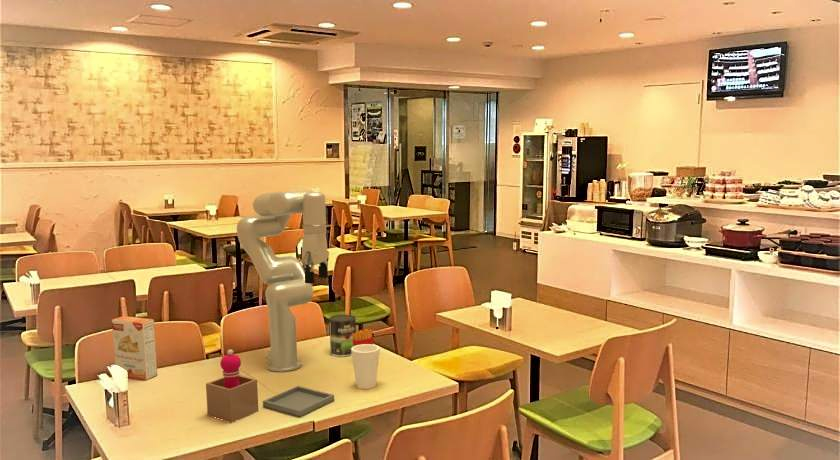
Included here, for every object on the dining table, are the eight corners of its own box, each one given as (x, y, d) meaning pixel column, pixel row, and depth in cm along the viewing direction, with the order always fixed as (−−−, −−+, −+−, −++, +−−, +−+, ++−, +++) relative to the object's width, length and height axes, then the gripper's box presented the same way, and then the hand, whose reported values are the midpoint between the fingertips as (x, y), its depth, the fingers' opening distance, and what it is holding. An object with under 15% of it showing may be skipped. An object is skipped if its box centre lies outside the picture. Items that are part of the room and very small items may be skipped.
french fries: (369, 357, 259) (369, 326, 258) (375, 360, 256) (374, 329, 255) (350, 362, 254) (350, 330, 252) (356, 364, 251) (355, 333, 249)
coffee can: (360, 354, 263) (359, 318, 261) (335, 358, 259) (334, 322, 257) (350, 347, 272) (349, 313, 271) (326, 351, 268) (325, 316, 266)
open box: (207, 415, 206) (205, 383, 204) (234, 404, 214) (233, 373, 213) (231, 423, 200) (229, 390, 199) (258, 411, 209) (257, 379, 207)
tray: (263, 407, 212) (262, 400, 211) (298, 391, 224) (297, 385, 224) (300, 417, 203) (299, 411, 203) (334, 400, 216) (334, 394, 216)
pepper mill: (223, 409, 210) (220, 346, 208) (247, 408, 211) (244, 345, 208) (218, 418, 203) (215, 353, 201) (243, 417, 204) (240, 352, 201)
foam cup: (375, 391, 224) (374, 353, 222) (348, 389, 225) (347, 351, 224) (383, 381, 233) (382, 344, 231) (357, 380, 235) (356, 343, 233)
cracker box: (114, 376, 241) (110, 319, 239) (127, 371, 247) (124, 315, 244) (145, 381, 236) (141, 322, 234) (158, 375, 242) (154, 318, 239)
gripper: (316, 226, 235) (318, 275, 237) (291, 232, 218) (293, 285, 221) (336, 226, 232) (338, 276, 234) (312, 233, 216) (314, 286, 218)
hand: (316, 280), depth 227 cm, fingers open, 9 cm apart
